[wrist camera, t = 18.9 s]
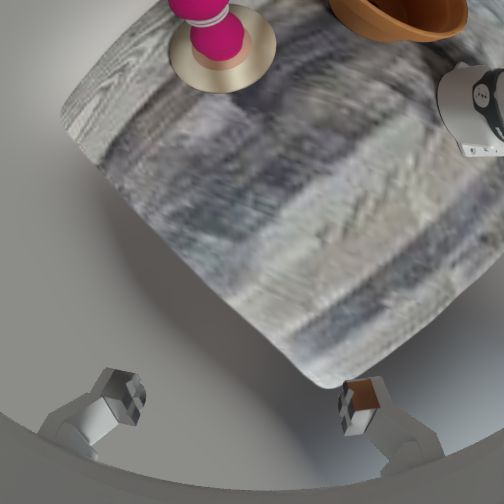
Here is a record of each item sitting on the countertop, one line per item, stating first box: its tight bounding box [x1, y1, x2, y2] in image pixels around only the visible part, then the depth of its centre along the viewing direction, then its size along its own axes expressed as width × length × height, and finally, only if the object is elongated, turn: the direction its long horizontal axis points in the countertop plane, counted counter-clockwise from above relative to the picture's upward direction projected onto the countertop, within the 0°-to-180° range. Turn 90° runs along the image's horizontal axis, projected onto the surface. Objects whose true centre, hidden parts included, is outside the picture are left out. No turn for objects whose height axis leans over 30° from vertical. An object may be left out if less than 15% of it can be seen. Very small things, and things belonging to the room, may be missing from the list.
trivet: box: [170, 5, 276, 93], centre depth 33 cm, size 16×16×1 cm
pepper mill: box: [168, 0, 244, 61], centre depth 23 cm, size 7×7×20 cm
